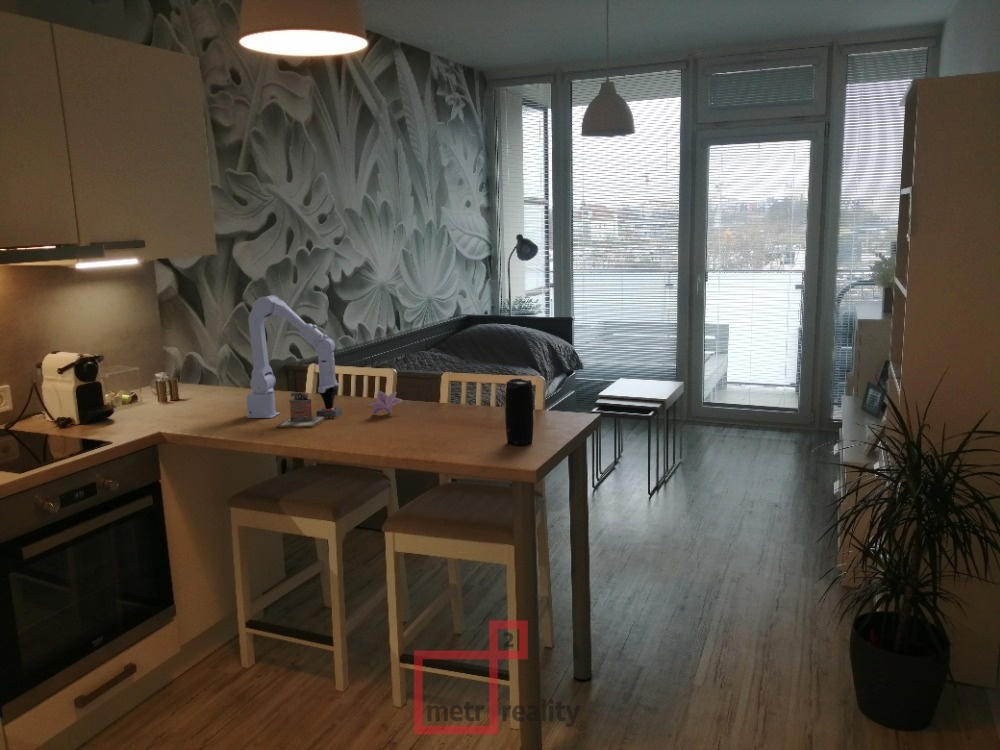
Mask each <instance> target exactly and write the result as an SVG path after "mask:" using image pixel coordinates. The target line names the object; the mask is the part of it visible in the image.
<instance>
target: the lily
mask: <svg viewBox="0 0 1000 750" xmlns="http://www.w3.org/2000/svg"><path fill="white" fill-rule="evenodd" d="M396 395H397V391H394V392H392V393H391V394H389V395H388V394H386V393H385V392H383V391H381V390H379V391H377V393H376V400H377V401H373V402H372V403H369V405H368V406H369V407H372V408H373V411H372V416H375V415H376V414H378V413H380V412H382V411H385V412H387V414H388V416H389V419H391V417H392V416H391V414H392V410H393V406H394V405H396V404H399V403H402V402H403V399H401V398H398V397H396Z"/></svg>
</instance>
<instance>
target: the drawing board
mask: <svg viewBox="0 0 1000 750" xmlns="http://www.w3.org/2000/svg"><path fill="white" fill-rule="evenodd" d="M327 417H328V416H317V415H316V416H315V415H312V418H313V421H304V422H303V421H291V420H290V418H291V417H288V418H287V419H285V420H283V422H280V423H279V424H277V425H276V427H314V426H315V425H317V424H318V423H319V422H321V421H322V420H324V419H326V418H327ZM327 419H328V418H327ZM327 419H326V420H327ZM324 421H325V420H324ZM321 423H322V422H321ZM318 425H319V424H318ZM318 425H317V426H318ZM315 427H316V426H315ZM315 427H314V428H315Z"/></svg>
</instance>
